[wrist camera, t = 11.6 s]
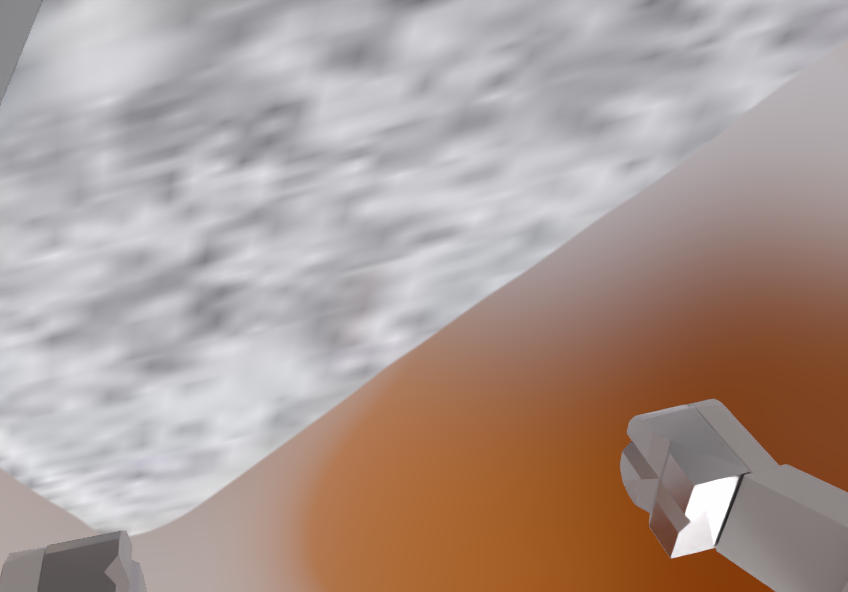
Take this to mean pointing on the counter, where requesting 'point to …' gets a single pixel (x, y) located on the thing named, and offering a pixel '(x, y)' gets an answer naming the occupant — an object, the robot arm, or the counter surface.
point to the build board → (14, 35)
